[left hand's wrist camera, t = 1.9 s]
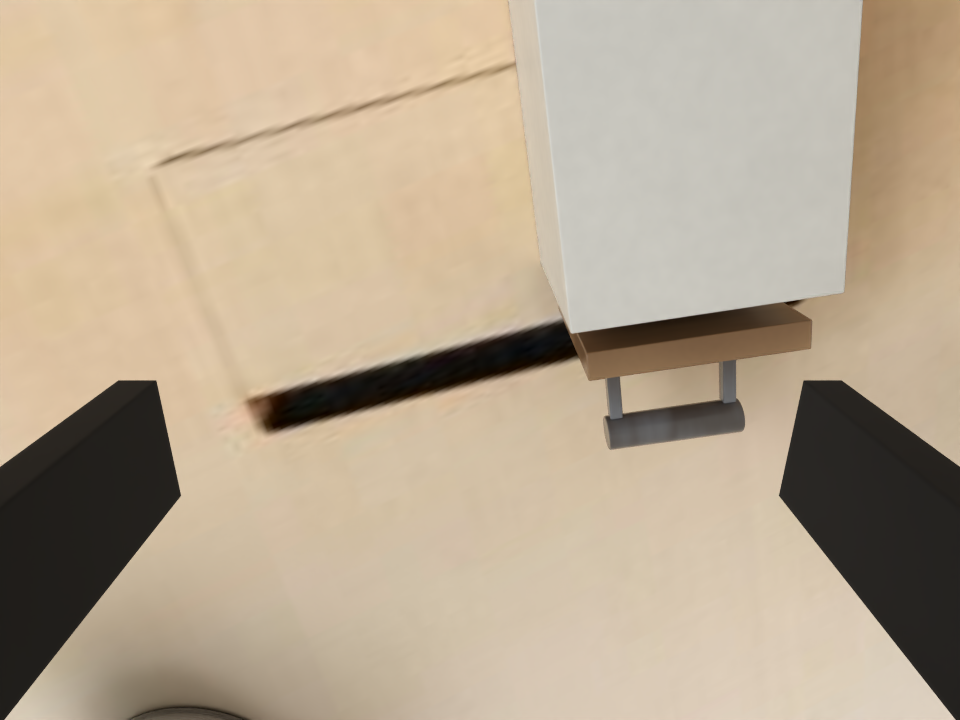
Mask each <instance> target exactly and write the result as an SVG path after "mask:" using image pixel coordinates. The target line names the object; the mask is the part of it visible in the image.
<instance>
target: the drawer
mask: <svg viewBox="0 0 960 720" xmlns="http://www.w3.org/2000/svg"><path fill="white" fill-rule="evenodd" d="M558 306H559V305H558ZM559 310H560V313H561V315H562V318H563V320H564V322H565V325H566V327H567V330H568V332H569V334H570V337H571V339H572V342H573V344H574V346H575V349H576V351H577V354H578V356H579V358H580V361H581V363H582V365H583V368H584V370H585V373H586V375H587V377H588V380H589V381H592V380H599V379H605V383H606V394H607V405H608V414H609V415H608V416H604V419H603V424H604V432H605V438H606V442H607V446H608V448H609V449H610V450H613V449H620V448H627V447H635V446H642V445H649V444H656V443H664V442H671V441H678V440H685V439H693V438H700V437H707V436H714V435H721V434H729V433H736V432H742V431H743V430H744V427H745V416H744V411H743V408H742V405H741V403H740V402H739V400H738V399H737V398H736V360H737V359H744V358H750V357H757V356H764V355H771V354H778V353H785V352H792V351H799V350H806V349H811V335H812V320H811V319H809V318H808V317H806V316H804V315H803V314H801V313H799V312H798V311H796V310H795V309H793V308H791V307H790V306H788V305H786V304H785V303H783V302H780V303H774V304H767V305H760V306H753V307H747V308H740V309H733V310H727V311H720V312H713V313H707V314H700V315H693V316H687V317H680V318H673V319H667V320H660V321H653V322H647V323H640V324H633V325H626V326H620V327H613V328H606V329H600V330H593V331H586V332H580V333H573V334H572V333H570V331H569V328H568V326H567V324H566V321H565V319H564V317H563V314H562V312H561V309H560V307H559ZM716 362H719V390H720V400H714V401H707V402H700V403H693V404H686V405H679V406H672V407H665V408H658V409H651V410H643V411H636V412H629V413H623V412H622V399H621V387H620V376H626V375H633V374H640V373H647V372H654V371H661V370H668V369H675V368H682V367H688V366H695V365H702V364H709V363H716Z"/></svg>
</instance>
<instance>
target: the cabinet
mask: <svg viewBox="0 0 960 720" xmlns="http://www.w3.org/2000/svg"><path fill="white" fill-rule="evenodd" d="M508 3H509V11H510V19H511V27H512V35H513V43H514V51H515V60H516V68H517V76H518V84H519V92H520V100H521V108H522V116H523V124H524V132H525V140H526V149H527V157H528V165H529V173H530V181H531V189H532V197H533V205H534V213H535V221H536V229H537V238H538V246H539V254H540V262H541V265H542V267H543V270H544V272H545V274H546V277H547V279H548V281H549V284H550V286H551V288H552V291H553V293H554V295H555V298H556V300H557V302H558V305H559V307H560V309H561V312H562V314H563V317H564V319H565V321H566V324H567V326H568V328H569V331H570V333H572V334H573V333H580V332H586V331H593V330H600V329H606V328H613V327H620V326H626V325H633V324H640V323H647V322H653V321H660V320H667V319H673V318H680V317H687V316H693V315H700V314H707V313H713V312H720V311H727V310H733V309H740V308H747V307H753V306H760V305H767V304H774V303H780V302H787V301H794V300H800V299H807V298H814V297H820V296H827V295H834V294H840V293H844V289H845V273H846V257H847V242H848V226H849V210H850V195H851V179H852V164H853V148H854V132H855V117H856V101H857V85H858V70H859V54H860V38H861V23H862V7H863V0H508Z"/></svg>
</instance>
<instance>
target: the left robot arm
mask: <svg viewBox="0 0 960 720" xmlns="http://www.w3.org/2000/svg"><path fill="white" fill-rule="evenodd" d="M180 496H181V494H180V489H179V484H178V480H177V475H176V470H175V466H174V461H173V456H172V452H171V447H170V442H169V438H168V433H167V428H166V424H165V419H164V414H163V410H162V405H161V400H160V396H159V391H158V386H157V382H156V381H117V382H116V383H114V384H113V385H112V386H110V387H109V388H108V389H106V390H105V391H103V392H102V393H101V394H99V395H98V396H97V397H95V398H94V399H93V400H91V401H90V402H88V403H87V404H86V405H84V406H83V407H82V408H80V409H79V410H77V411H76V412H75V413H73V414H72V415H71V416H69V417H68V418H67V419H65V420H64V421H62V422H61V423H60V424H58V425H57V426H56V427H54V428H53V429H51V430H50V431H49V432H47V433H46V434H45V435H43V436H42V437H41V438H39V439H38V440H36V441H35V442H34V443H32V444H31V445H30V446H28V447H27V448H25V449H24V450H23V451H21V452H20V453H19V454H17V455H16V456H15V457H13V458H12V459H10V460H9V461H8V462H6V463H5V464H4V465H2V466H1V467H0V720H4V719H5V718H6V717H7V716H8V714H9V713H10V712H11V711H12V709H13V708H14V707H15V705H16V704H17V703H18V702H19V700H20V699H21V698H22V697H23V695H24V694H25V693H26V692H27V690H28V689H29V688H30V686H31V685H32V684H33V683H34V681H35V680H36V679H37V678H38V676H39V675H40V674H41V673H42V671H43V670H44V669H45V667H46V666H47V665H48V664H49V662H50V661H51V660H52V659H53V657H54V656H55V655H56V653H57V652H58V651H59V650H60V648H61V647H62V646H63V645H64V643H65V642H66V641H67V640H68V638H69V637H70V636H71V634H72V633H73V632H74V631H75V629H76V628H77V627H78V626H79V624H80V623H81V622H82V621H83V619H84V618H85V617H86V615H87V614H88V613H89V612H90V610H91V609H92V608H93V607H94V605H95V604H96V603H97V601H98V600H99V599H100V598H101V596H102V595H103V594H104V593H105V591H106V590H107V589H108V588H109V586H110V585H111V584H112V582H113V581H114V580H115V579H116V577H117V576H118V575H119V574H120V572H121V571H122V570H123V569H124V567H125V566H126V565H127V563H128V562H129V561H130V560H131V558H132V557H133V556H134V555H135V553H136V552H137V551H138V550H139V548H140V547H141V546H142V544H143V543H144V542H145V541H146V539H147V538H148V537H149V536H150V534H151V533H152V532H153V530H154V529H155V528H156V527H157V525H158V524H159V523H160V522H161V520H162V519H163V518H164V517H165V515H166V514H167V513H168V511H169V510H170V509H171V508H172V506H173V505H174V504H175V503H176V501H177V500H178V499H179V498H180ZM779 496H780V498H781V499H782V500H783V501H784V503H785V504H786V505H787V506H788V508H789V509H790V510H791V511H792V513H793V514H794V515H795V517H796V518H797V519H798V520H799V522H800V523H801V524H802V525H803V527H804V528H805V529H806V530H807V532H808V533H809V534H810V536H811V537H812V538H813V539H814V541H815V542H816V543H817V544H818V546H819V547H820V548H821V550H822V551H823V552H824V553H825V555H826V556H827V557H828V558H829V560H830V561H831V562H832V563H833V565H834V566H835V567H836V569H837V570H838V571H839V572H840V574H841V575H842V576H843V577H844V579H845V580H846V581H847V582H848V584H849V585H850V586H851V588H852V589H853V590H854V591H855V593H856V594H857V595H858V596H859V598H860V599H861V600H862V602H863V603H864V604H865V605H866V607H867V608H868V609H869V610H870V612H871V613H872V614H873V615H874V617H875V618H876V619H877V621H878V622H879V623H880V624H881V626H882V627H883V628H884V629H885V631H886V632H887V633H888V634H889V636H890V637H891V638H892V640H893V641H894V642H895V643H896V645H897V646H898V647H899V648H900V650H901V651H902V652H903V653H904V655H905V656H906V657H907V659H908V660H909V661H910V662H911V664H912V665H913V666H914V667H915V669H916V670H917V671H918V673H919V674H920V675H921V676H922V678H923V679H924V680H925V681H926V683H927V684H928V685H929V686H930V688H931V689H932V690H933V692H934V693H935V694H936V695H937V697H938V698H939V699H940V700H941V702H942V703H943V704H944V705H945V707H946V708H947V709H948V711H949V712H950V713H951V714H952V716H953V717H954V718H955V719H956V720H960V467H959V466H958V465H956V464H955V463H954V462H952V461H951V460H950V459H948V458H947V457H945V456H944V455H943V454H941V453H940V452H939V451H937V450H936V449H935V448H933V447H932V446H930V445H929V444H928V443H926V442H925V441H924V440H922V439H921V438H919V437H918V436H917V435H915V434H914V433H913V432H911V431H910V430H909V429H907V428H906V427H904V426H903V425H902V424H900V423H899V422H898V421H896V420H895V419H893V418H892V417H891V416H889V415H888V414H887V413H885V412H884V411H883V410H881V409H880V408H878V407H877V406H876V405H874V404H873V403H872V402H870V401H869V400H867V399H866V398H865V397H863V396H862V395H861V394H859V393H858V392H857V391H855V390H854V389H852V388H851V387H850V386H848V385H847V384H846V383H844V382H843V381H804V382H803V386H802V391H801V396H800V400H799V405H798V410H797V414H796V419H795V424H794V428H793V433H792V438H791V442H790V447H789V452H788V456H787V461H786V466H785V470H784V475H783V480H782V484H781V489H780V494H779ZM130 720H242V719H239V718H237V717H234V716H231V715H228V714H225V713H221V712H217V711H212V710H206V709H198V708H169V709H161V710H156V711H151V712H148V713H144V714H142V715H139V716H137V717H134V718H132V719H130Z"/></svg>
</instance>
